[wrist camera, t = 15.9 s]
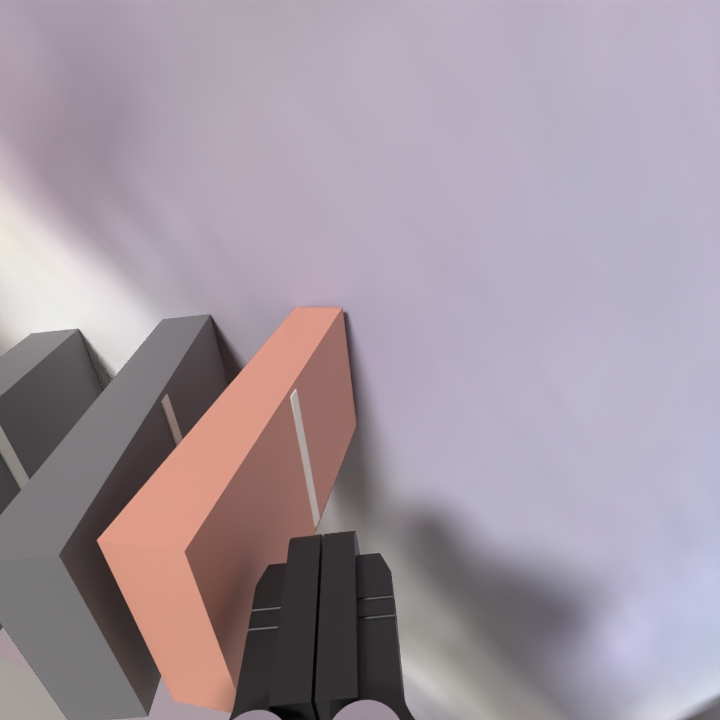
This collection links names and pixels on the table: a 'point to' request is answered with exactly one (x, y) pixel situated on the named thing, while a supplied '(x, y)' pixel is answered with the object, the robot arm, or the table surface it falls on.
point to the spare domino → (234, 505)
